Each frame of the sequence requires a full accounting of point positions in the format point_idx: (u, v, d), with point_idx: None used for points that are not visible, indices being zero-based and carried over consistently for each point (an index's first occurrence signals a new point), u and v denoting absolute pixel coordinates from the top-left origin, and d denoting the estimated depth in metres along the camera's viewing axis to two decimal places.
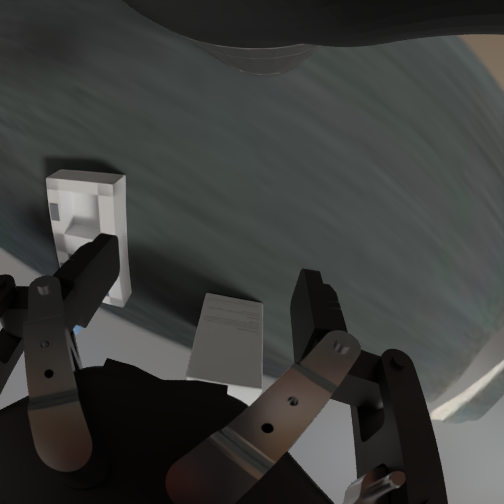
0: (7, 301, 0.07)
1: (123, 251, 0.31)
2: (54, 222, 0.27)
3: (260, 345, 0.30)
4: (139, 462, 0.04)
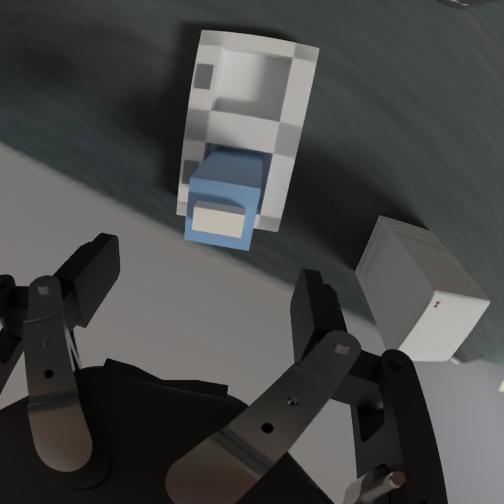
0: (7, 301, 0.07)
1: None
2: (197, 92, 0.20)
3: (460, 264, 0.22)
4: (139, 463, 0.04)
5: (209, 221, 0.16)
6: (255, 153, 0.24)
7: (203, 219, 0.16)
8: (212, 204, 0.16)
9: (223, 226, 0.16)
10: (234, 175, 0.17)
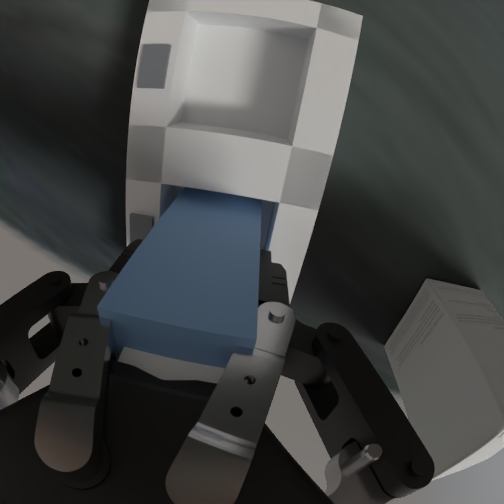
0: (64, 298, 0.08)
1: None
2: (143, 96, 0.10)
3: None
4: (139, 463, 0.04)
5: None
6: None
7: None
8: (151, 363, 0.07)
9: None
10: (199, 282, 0.08)
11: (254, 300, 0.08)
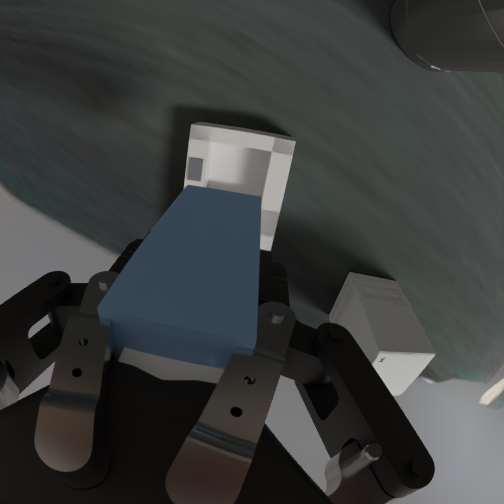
0: (64, 298, 0.08)
1: None
2: (190, 183, 0.25)
3: (416, 317, 0.27)
4: (139, 462, 0.04)
5: None
6: (249, 196, 0.15)
7: None
8: (151, 364, 0.07)
9: None
10: (199, 283, 0.08)
11: (254, 301, 0.08)
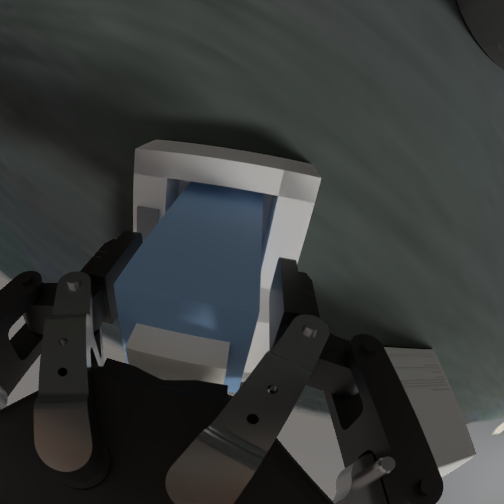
0: (34, 298, 0.07)
1: None
2: None
3: (457, 404, 0.17)
4: (139, 463, 0.04)
5: (158, 370, 0.07)
6: None
7: (147, 367, 0.07)
8: (162, 337, 0.08)
9: (186, 379, 0.08)
10: (207, 264, 0.09)
11: (257, 280, 0.09)
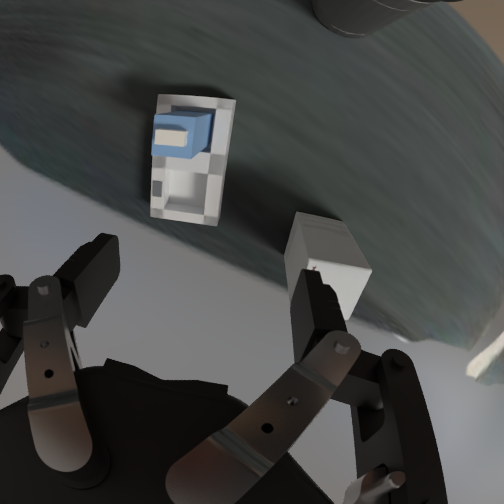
0: (7, 301, 0.07)
1: (225, 168, 0.35)
2: None
3: (356, 244, 0.33)
4: (139, 463, 0.04)
5: (164, 137, 0.24)
6: None
7: (160, 137, 0.24)
8: (167, 129, 0.24)
9: (172, 140, 0.24)
10: None
11: (198, 116, 0.25)
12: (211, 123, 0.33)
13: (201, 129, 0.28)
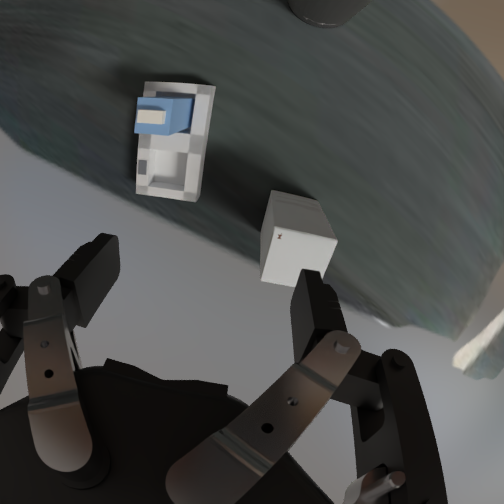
0: (7, 301, 0.07)
1: (204, 148, 0.37)
2: None
3: (326, 219, 0.36)
4: (139, 463, 0.04)
5: (145, 116, 0.26)
6: None
7: (142, 116, 0.26)
8: (148, 109, 0.26)
9: (152, 118, 0.26)
10: None
11: (176, 98, 0.27)
12: (192, 107, 0.34)
13: (180, 111, 0.29)
